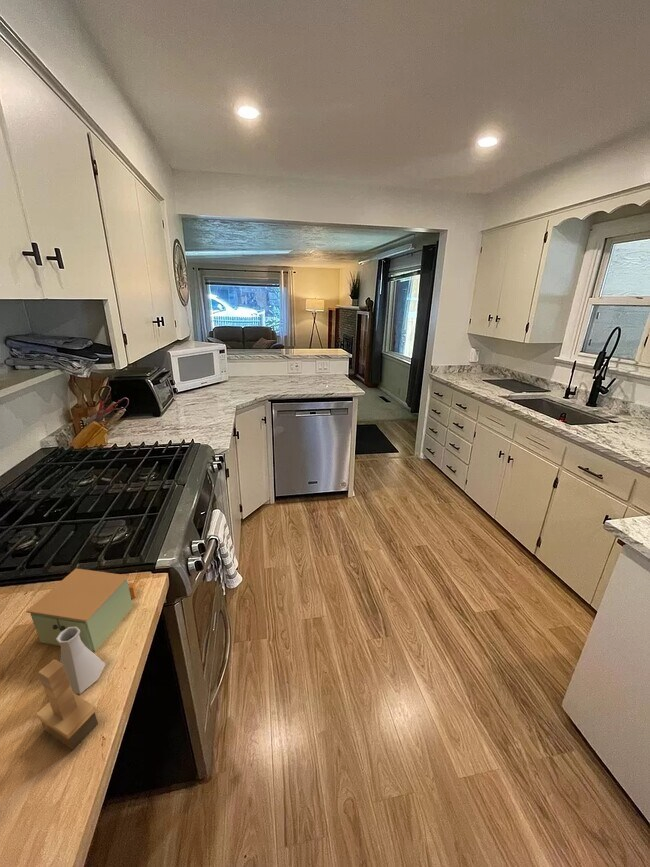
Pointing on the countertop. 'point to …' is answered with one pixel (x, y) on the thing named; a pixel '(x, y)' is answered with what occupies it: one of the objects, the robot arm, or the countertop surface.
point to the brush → (64, 708)
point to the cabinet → (83, 607)
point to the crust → (132, 590)
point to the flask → (78, 660)
